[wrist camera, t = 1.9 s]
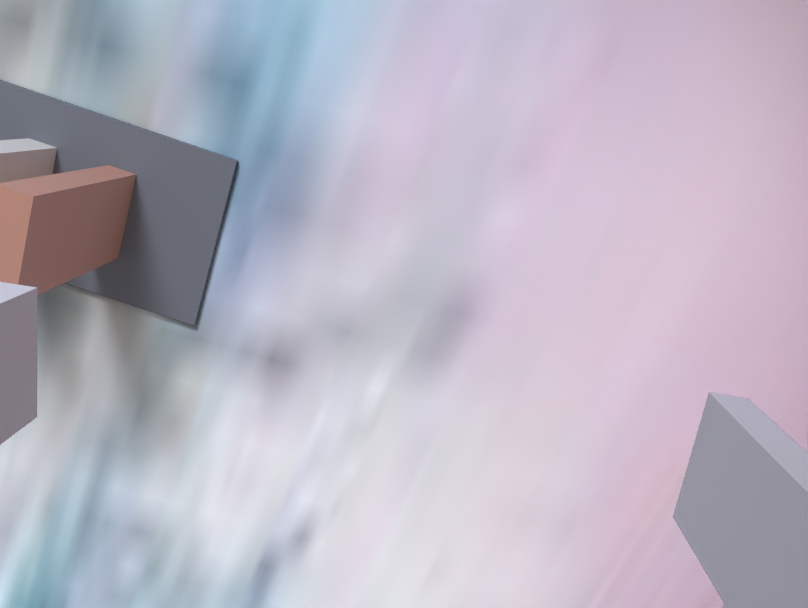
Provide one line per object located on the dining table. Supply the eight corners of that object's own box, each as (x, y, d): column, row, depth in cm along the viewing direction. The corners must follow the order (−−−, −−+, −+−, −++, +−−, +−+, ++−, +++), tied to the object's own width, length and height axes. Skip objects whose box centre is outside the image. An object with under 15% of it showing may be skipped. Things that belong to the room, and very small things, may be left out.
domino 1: (91, 249, 39) (-22, 294, 30) (108, 165, 38) (-4, 183, 28) (118, 257, 39) (14, 306, 30) (136, 174, 38) (33, 196, 28)
